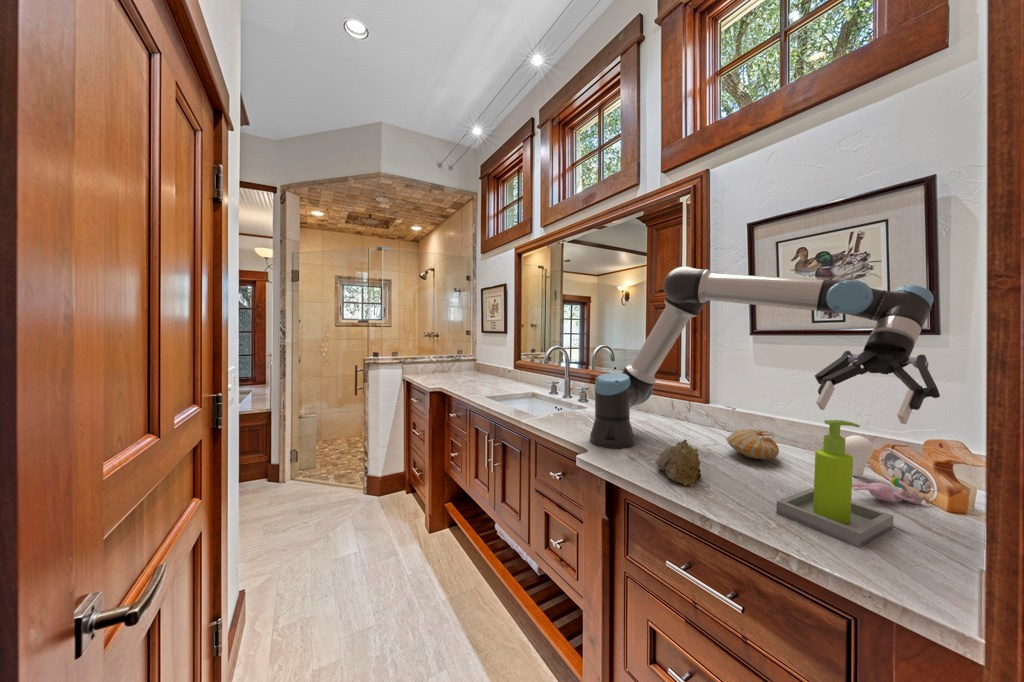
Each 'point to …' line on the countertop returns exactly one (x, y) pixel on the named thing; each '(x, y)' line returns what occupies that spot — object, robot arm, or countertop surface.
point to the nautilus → (753, 444)
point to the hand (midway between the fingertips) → (857, 412)
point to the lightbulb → (858, 452)
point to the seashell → (680, 463)
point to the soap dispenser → (833, 476)
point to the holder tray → (856, 532)
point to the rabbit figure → (890, 492)
